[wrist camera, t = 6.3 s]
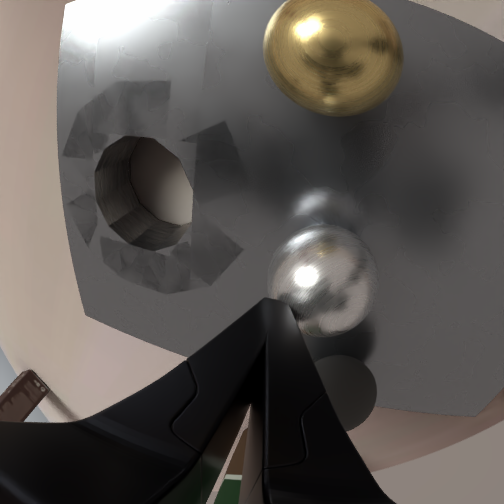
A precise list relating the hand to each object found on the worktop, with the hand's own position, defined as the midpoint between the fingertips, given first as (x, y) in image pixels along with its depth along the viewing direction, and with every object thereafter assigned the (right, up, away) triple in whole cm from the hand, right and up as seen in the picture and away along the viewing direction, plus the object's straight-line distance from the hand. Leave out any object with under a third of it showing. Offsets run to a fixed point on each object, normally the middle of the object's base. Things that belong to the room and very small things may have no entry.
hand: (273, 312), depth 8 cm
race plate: (+3, +3, +4) cm, 5 cm away
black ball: (+3, -4, +3) cm, 5 cm away
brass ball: (+1, +6, -3) cm, 7 cm away
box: (-32, -17, +26) cm, 45 cm away
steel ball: (+1, +1, 0) cm, 2 cm away
